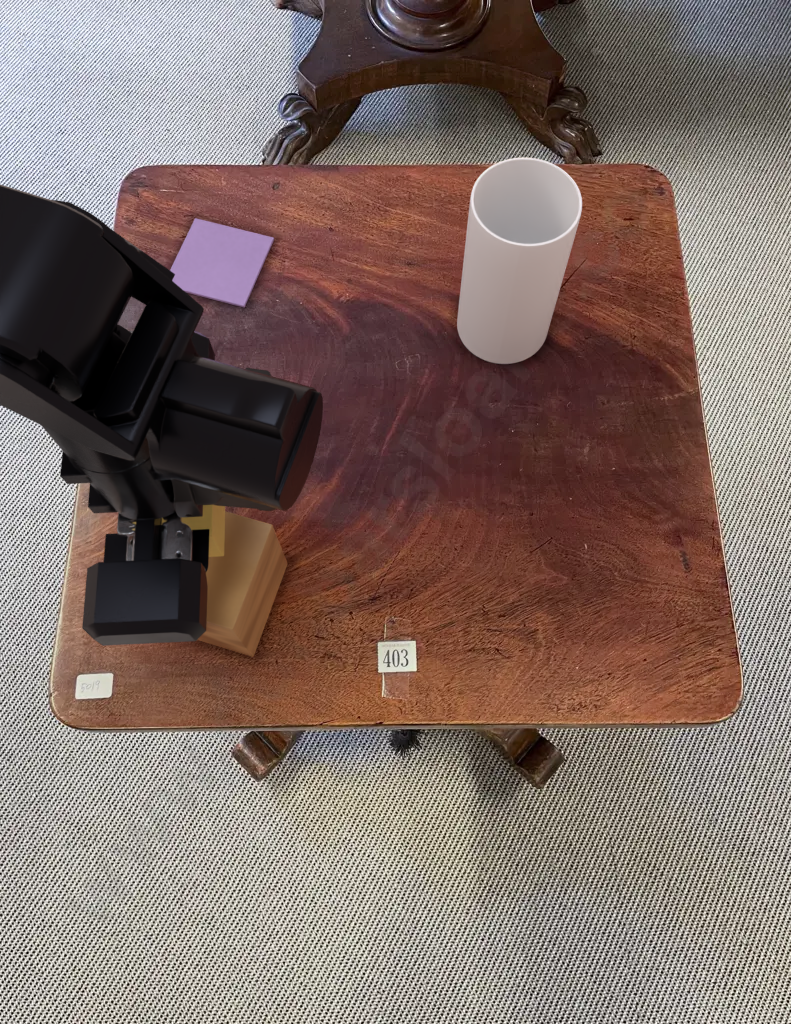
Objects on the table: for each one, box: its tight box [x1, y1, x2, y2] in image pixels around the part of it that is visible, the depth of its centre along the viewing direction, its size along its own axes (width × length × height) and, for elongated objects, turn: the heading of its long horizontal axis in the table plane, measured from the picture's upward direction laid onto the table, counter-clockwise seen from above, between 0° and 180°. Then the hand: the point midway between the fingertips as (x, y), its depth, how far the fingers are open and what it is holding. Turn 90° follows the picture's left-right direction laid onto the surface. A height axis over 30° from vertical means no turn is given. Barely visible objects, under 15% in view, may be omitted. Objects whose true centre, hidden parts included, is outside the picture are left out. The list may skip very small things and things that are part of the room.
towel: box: [169, 217, 275, 308], centre depth 80 cm, size 8×8×1 cm
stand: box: [196, 510, 288, 658], centre depth 64 cm, size 8×8×9 cm
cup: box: [456, 157, 583, 365], centre depth 70 cm, size 8×8×16 cm
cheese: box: [132, 505, 226, 557], centre depth 55 cm, size 5×4×4 cm
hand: (186, 529), depth 57 cm, fingers closed on cheese, 4 cm apart
